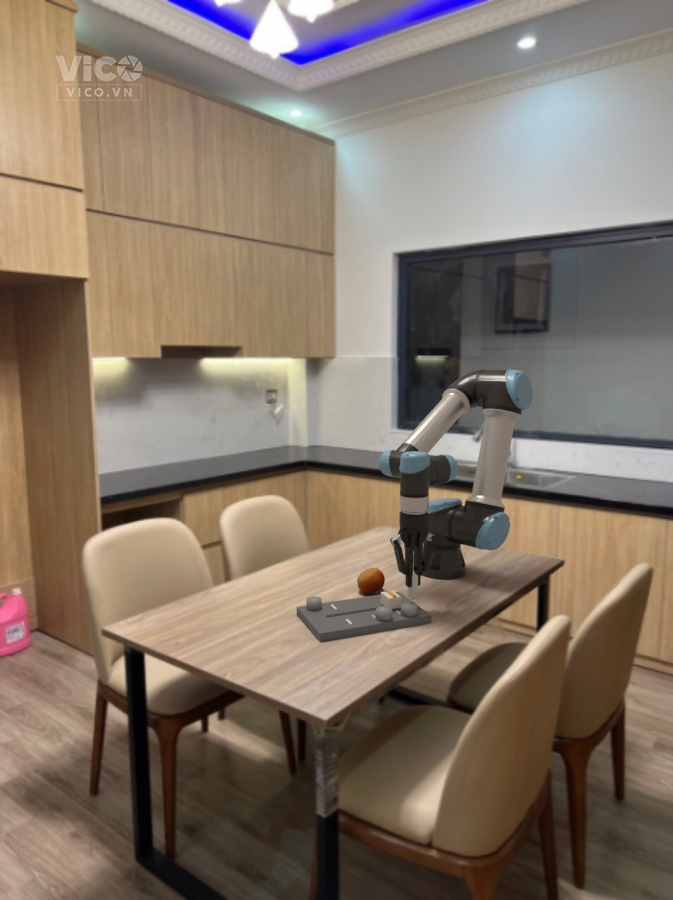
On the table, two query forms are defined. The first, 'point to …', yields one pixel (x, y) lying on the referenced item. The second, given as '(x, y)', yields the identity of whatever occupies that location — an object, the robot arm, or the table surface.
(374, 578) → the fruit
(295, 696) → the table surface
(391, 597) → the fader
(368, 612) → the console
